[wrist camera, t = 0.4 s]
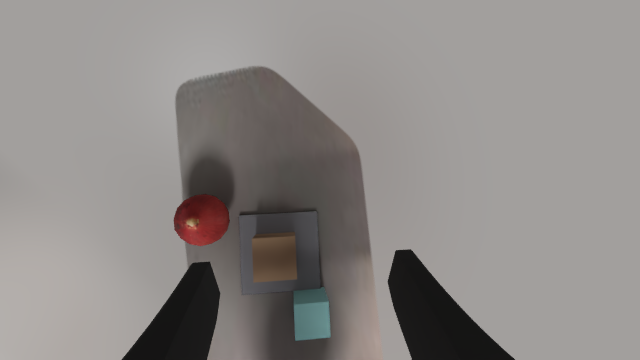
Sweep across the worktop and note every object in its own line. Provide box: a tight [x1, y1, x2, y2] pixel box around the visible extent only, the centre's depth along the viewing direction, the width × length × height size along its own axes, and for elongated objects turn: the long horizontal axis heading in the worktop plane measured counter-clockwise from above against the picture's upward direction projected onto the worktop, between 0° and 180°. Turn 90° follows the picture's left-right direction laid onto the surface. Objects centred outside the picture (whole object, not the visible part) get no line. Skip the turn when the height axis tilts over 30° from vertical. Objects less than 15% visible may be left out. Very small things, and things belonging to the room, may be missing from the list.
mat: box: [239, 211, 321, 295], centre depth 36 cm, size 10×10×1 cm
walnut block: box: [252, 232, 297, 283], centre depth 34 cm, size 5×5×4 cm
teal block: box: [294, 287, 331, 341], centre depth 34 cm, size 4×4×5 cm
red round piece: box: [174, 194, 230, 246], centre depth 32 cm, size 6×6×8 cm
